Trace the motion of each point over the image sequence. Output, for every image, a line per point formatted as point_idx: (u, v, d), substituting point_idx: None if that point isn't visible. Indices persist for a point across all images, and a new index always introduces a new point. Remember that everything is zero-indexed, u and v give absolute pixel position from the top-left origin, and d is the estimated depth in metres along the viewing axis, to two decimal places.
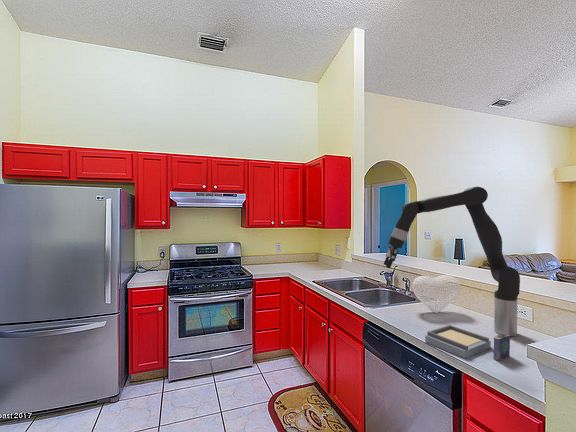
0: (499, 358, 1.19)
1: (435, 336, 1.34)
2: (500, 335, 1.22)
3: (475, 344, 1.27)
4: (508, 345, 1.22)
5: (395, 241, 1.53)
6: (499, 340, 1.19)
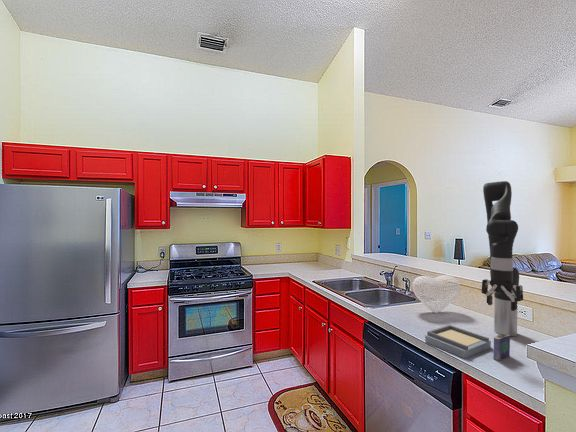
0: (499, 358, 1.19)
1: (435, 336, 1.34)
2: (500, 335, 1.22)
3: (475, 344, 1.27)
4: (508, 345, 1.22)
5: (509, 274, 1.18)
6: (499, 340, 1.19)
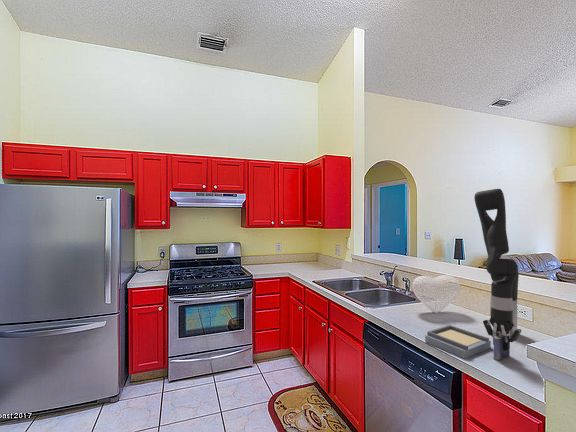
0: (499, 358, 1.19)
1: (435, 336, 1.34)
2: (500, 335, 1.22)
3: (475, 344, 1.27)
4: None
5: (509, 314, 1.18)
6: (499, 340, 1.19)
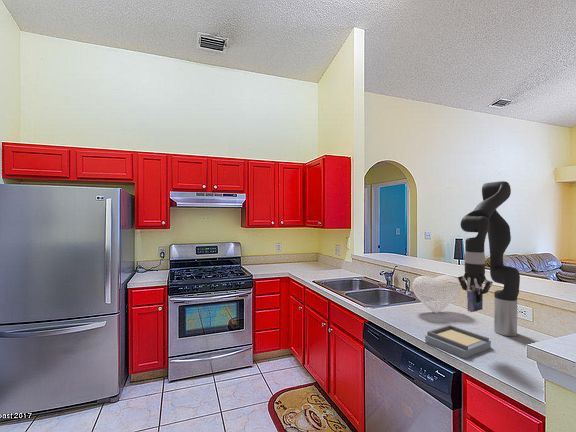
0: (473, 310, 1.26)
1: (435, 336, 1.34)
2: (473, 288, 1.28)
3: (475, 344, 1.27)
4: None
5: (481, 268, 1.25)
6: (472, 292, 1.26)
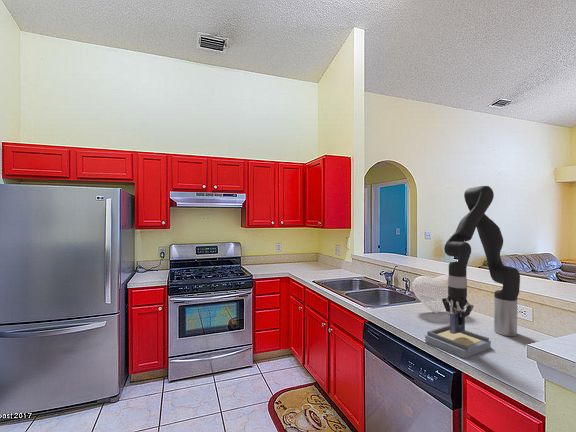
0: (454, 332, 1.31)
1: (435, 336, 1.34)
2: (456, 311, 1.34)
3: (475, 344, 1.27)
4: None
5: (463, 291, 1.30)
6: (454, 315, 1.31)
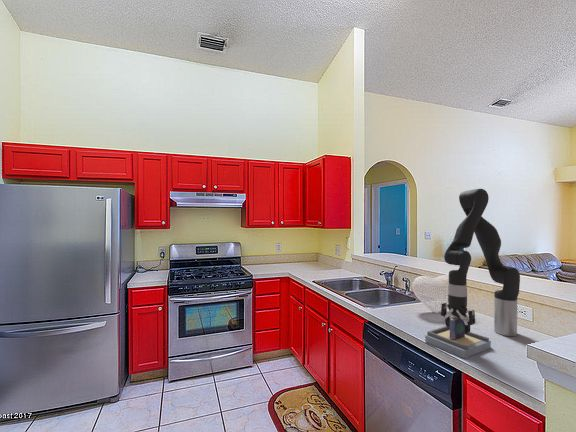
0: (454, 338, 1.31)
1: (435, 336, 1.34)
2: (456, 317, 1.34)
3: (475, 344, 1.27)
4: (463, 326, 1.34)
5: (463, 300, 1.30)
6: (454, 321, 1.31)
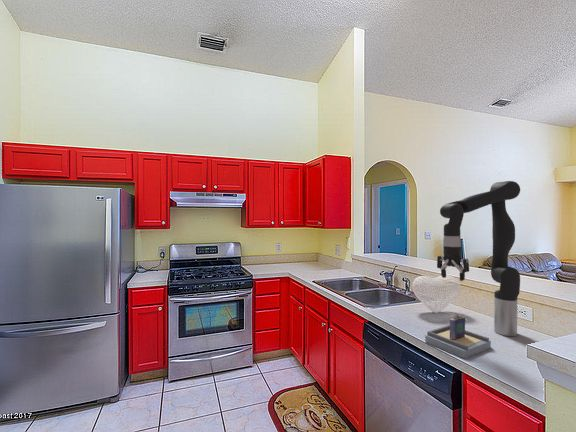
0: (454, 338, 1.31)
1: (435, 336, 1.34)
2: (456, 317, 1.34)
3: (475, 344, 1.27)
4: (463, 326, 1.34)
5: (457, 250, 1.38)
6: (454, 321, 1.31)
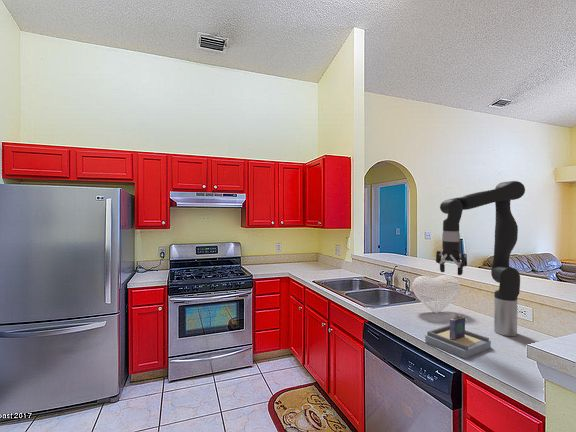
0: (454, 338, 1.31)
1: (435, 336, 1.34)
2: (456, 317, 1.34)
3: (475, 344, 1.27)
4: (463, 326, 1.34)
5: (456, 245, 1.41)
6: (454, 321, 1.31)
